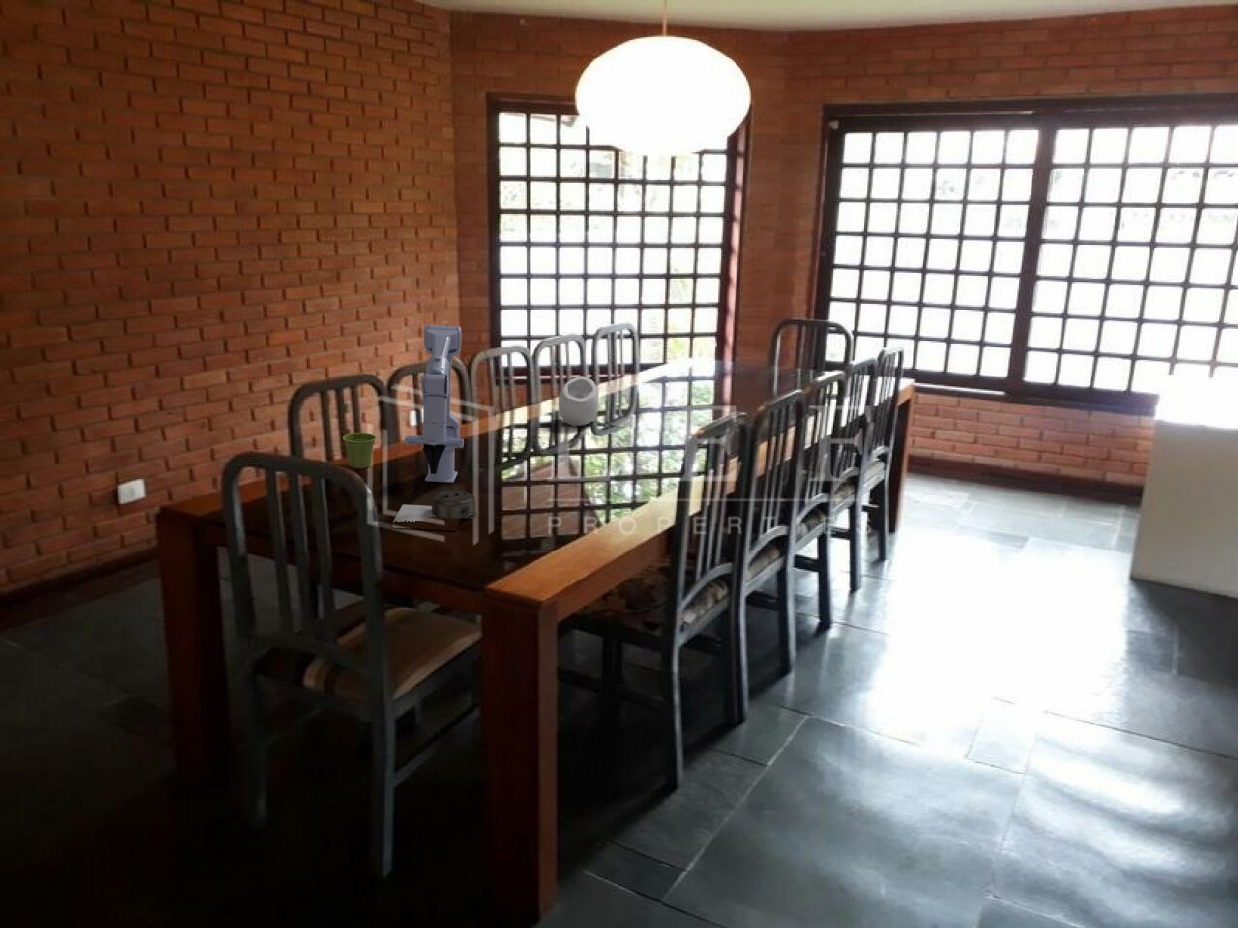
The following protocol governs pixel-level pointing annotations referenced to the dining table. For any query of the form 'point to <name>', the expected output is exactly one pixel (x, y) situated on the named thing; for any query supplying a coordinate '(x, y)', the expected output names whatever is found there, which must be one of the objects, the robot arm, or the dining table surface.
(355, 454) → the plant pot
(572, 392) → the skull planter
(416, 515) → the mat
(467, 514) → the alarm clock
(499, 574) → the dining table surface
